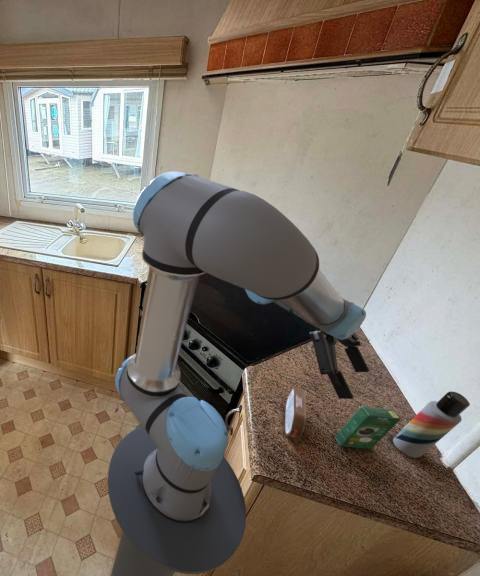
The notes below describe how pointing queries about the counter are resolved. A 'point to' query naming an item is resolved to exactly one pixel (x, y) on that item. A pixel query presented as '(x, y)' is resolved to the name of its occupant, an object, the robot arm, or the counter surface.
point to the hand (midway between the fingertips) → (354, 384)
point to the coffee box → (367, 427)
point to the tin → (295, 414)
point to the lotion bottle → (431, 424)
